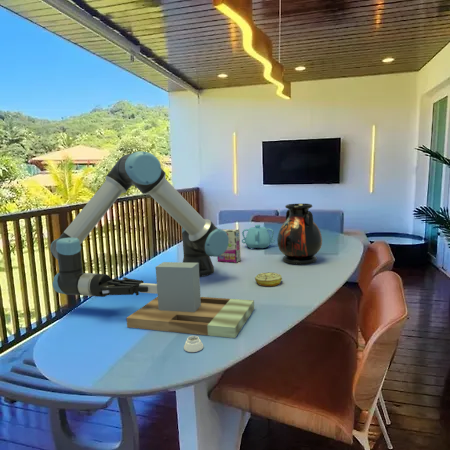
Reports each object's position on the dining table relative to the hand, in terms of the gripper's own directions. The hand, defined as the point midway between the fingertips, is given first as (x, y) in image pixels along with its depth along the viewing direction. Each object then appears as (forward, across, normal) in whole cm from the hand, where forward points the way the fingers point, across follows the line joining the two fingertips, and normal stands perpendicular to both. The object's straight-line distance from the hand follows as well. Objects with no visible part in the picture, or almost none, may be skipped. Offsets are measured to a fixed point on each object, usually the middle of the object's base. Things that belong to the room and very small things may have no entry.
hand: (158, 288), depth 117 cm
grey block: (+6, -2, -6) cm, 9 cm away
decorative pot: (+6, -111, -10) cm, 111 cm away
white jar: (+19, +17, -10) cm, 27 cm away
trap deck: (+11, -2, -9) cm, 14 cm away
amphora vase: (+34, -80, -10) cm, 87 cm away
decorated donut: (+26, -42, -10) cm, 51 cm away
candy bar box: (-1, -75, -10) cm, 75 cm away
